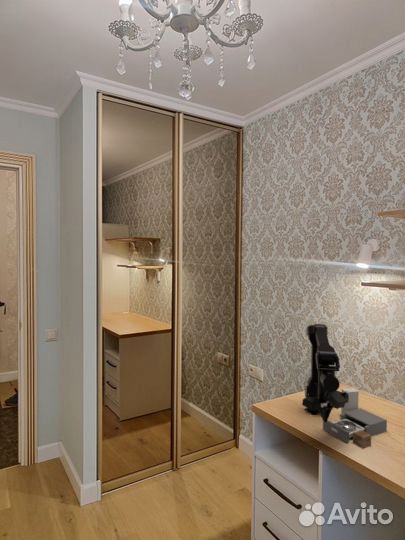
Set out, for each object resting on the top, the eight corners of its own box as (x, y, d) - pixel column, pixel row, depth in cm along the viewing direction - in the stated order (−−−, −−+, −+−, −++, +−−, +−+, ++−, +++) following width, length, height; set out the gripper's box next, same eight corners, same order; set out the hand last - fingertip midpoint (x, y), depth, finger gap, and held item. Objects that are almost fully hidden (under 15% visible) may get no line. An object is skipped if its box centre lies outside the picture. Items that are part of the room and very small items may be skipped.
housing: (340, 424, 158) (340, 413, 158) (359, 418, 163) (360, 408, 163) (366, 437, 146) (366, 426, 146) (386, 431, 152) (386, 419, 152)
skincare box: (353, 414, 168) (354, 387, 167) (358, 418, 163) (359, 391, 163) (340, 414, 167) (341, 388, 167) (345, 419, 163) (345, 391, 162)
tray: (322, 429, 153) (322, 419, 153) (343, 422, 158) (343, 413, 158) (346, 442, 142) (346, 432, 142) (368, 435, 147) (368, 425, 147)
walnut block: (352, 442, 143) (353, 432, 142) (361, 440, 145) (361, 429, 144) (362, 448, 139) (363, 437, 138) (370, 445, 141) (371, 435, 140)
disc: (333, 426, 152) (333, 422, 152) (345, 422, 155) (345, 418, 155) (347, 434, 146) (347, 429, 146) (359, 430, 149) (359, 425, 149)
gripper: (323, 393, 133) (322, 436, 133) (360, 385, 141) (359, 425, 142) (301, 383, 142) (301, 423, 143) (337, 376, 151) (336, 413, 152)
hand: (325, 421), depth 145 cm, fingers closed
